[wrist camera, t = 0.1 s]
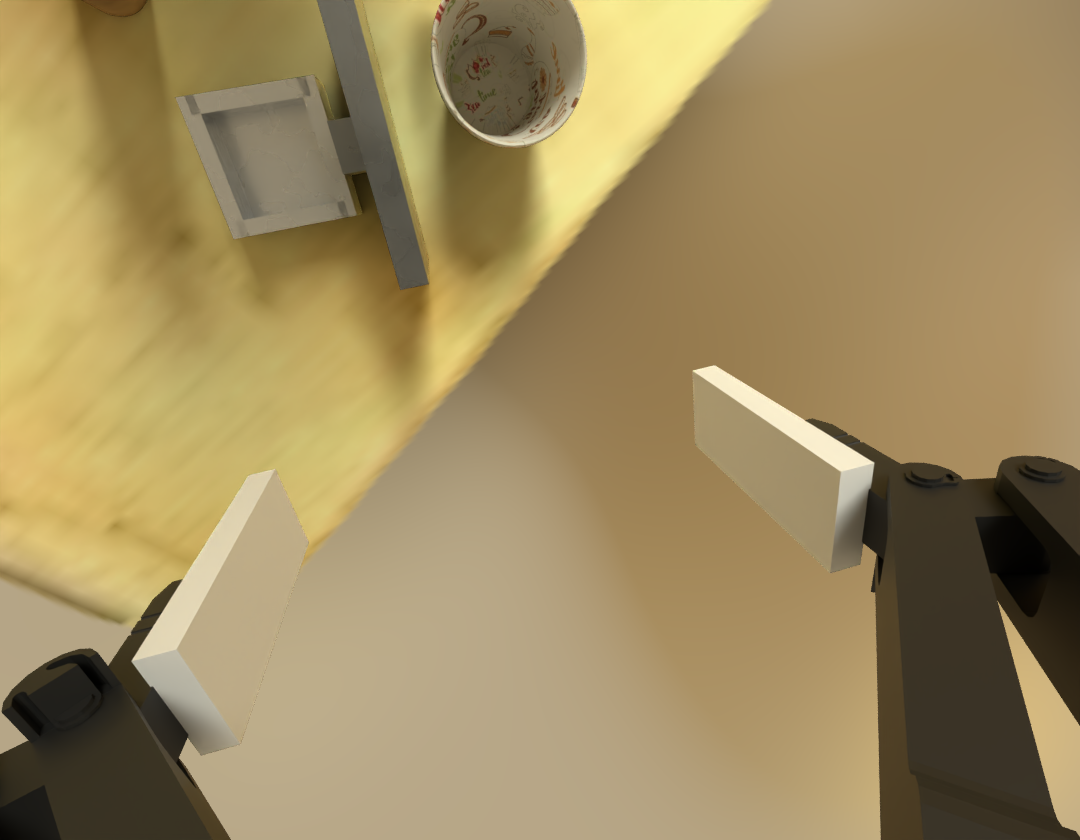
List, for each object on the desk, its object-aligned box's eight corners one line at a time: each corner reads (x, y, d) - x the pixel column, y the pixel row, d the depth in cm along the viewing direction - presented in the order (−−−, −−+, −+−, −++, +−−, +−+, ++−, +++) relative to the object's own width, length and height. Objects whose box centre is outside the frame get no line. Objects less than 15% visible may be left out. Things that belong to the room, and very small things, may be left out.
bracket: (169, 31, 32) (35, -52, 21) (362, 2, 33) (330, -90, 22) (272, 290, 38) (212, 329, 28) (428, 258, 40) (428, 283, 29)
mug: (480, 182, 38) (496, 179, 29) (359, 5, 33) (333, -65, 24) (570, 109, 38) (615, 84, 29) (461, -84, 32) (474, -191, 23)
